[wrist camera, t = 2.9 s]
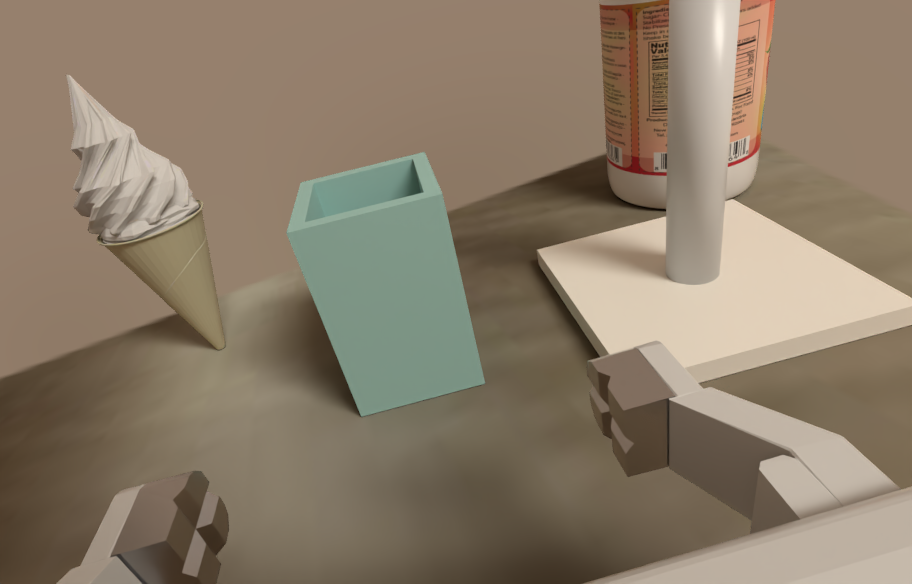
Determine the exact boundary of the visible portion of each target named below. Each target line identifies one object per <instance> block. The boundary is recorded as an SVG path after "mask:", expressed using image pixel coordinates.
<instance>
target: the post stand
mask: <svg viewBox="0 0 912 584" xmlns="http://www.w3.org/2000/svg"><path fill="white" fill-rule="evenodd" d="M740 1H741V0H669V51H668V122H667V194H666V217H662V218H658V219H654V220H650V221H647V222H643V223H639V224H635V225H631V226H627V227H623V228H619V229H616V230H612V231H608V232H604V233H600V234H596V235H592V236H589V237H585V238H581V239H577V240H573V241H569V242H565V243H561V244H558V245H554V246H550V247H546V248H542V249H538V250H537V256H538V263H539V266H540V267H541V269H542V270H543V272H544V273H545V275H546V276H547V278H548V279H549V281H550V282H551V284H552V285H553V287H554V288H555V290H556V291H557V293H558V294H559V296H560V297H561V299H562V300H563V302H564V303H565V305H566V306H567V308H568V309H569V311H570V312H571V314H572V315H573V317H574V318H575V320H576V321H577V323H578V324H579V326H580V327H581V329H582V330H583V332H584V333H585V335H586V336H587V338H588V339H589V341H590V342H591V344H592V345H593V347H594V348H595V350H596V351H597V353H598V354H599V356H600V357H603V356H606V355H610V354H613V353H617V352H620V351H624V350H627V349H630V348H634V347H636V346H639V345H643V344H646V343H649V342H653V341H656V340H657V341H659V342H661V343H662V344H663V345H664V346H665V347H666V348H667V349H668V350H669V352H670V353H671V354H672V355H673V356H674V357H675V358H676V359H677V360H678V361H679V363H680V364H681V365H682V366H683V367H684V368H685V369H686V370H687V371H688V373H689V374H690V375H691V376H692V377H693V378H694V379H695V380H696V381H697V383H700V382H704V381H708V380H711V379H715V378H719V377H722V376H726V375H730V374H733V373H737V372H741V371H744V370H748V369H752V368H755V367H759V366H763V365H766V364H770V363H774V362H777V361H781V360H785V359H788V358H792V357H796V356H799V355H803V354H807V353H810V352H814V351H818V350H821V349H825V348H829V347H832V346H836V345H840V344H843V343H847V342H851V341H854V340H858V339H862V338H865V337H869V336H873V335H876V334H880V333H884V332H887V331H891V330H895V329H898V328H902V327H906V326H909V325H912V298H911V297H909V296H907V295H905V294H903V293H902V292H900V291H898V290H896V289H894V288H893V287H891V286H889V285H887V284H885V283H883V282H882V281H880V280H878V279H876V278H874V277H873V276H871V275H869V274H867V273H865V272H864V271H862V270H860V269H858V268H856V267H855V266H853V265H851V264H849V263H847V262H845V261H844V260H842V259H840V258H838V257H836V256H835V255H833V254H831V253H829V252H827V251H826V250H824V249H822V248H820V247H818V246H817V245H815V244H813V243H811V242H809V241H808V240H806V239H804V238H802V237H800V236H798V235H797V234H795V233H793V232H791V231H789V230H788V229H786V228H784V227H782V226H780V225H779V224H777V223H775V222H773V221H771V220H770V219H768V218H766V217H764V216H762V215H760V214H759V213H757V212H755V211H753V210H751V209H750V208H748V207H746V206H744V205H742V204H741V203H739V202H737V201H735V200H733V199H732V200H728V201H725V196H726V183H727V170H728V157H729V144H730V131H731V118H732V105H733V92H734V79H735V66H736V53H737V40H738V27H739V14H740Z"/></svg>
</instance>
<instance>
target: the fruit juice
mask: <svg viewBox="0 0 912 584" xmlns="http://www.w3.org/2000/svg"><path fill="white" fill-rule="evenodd" d="M599 3H600V4H599V5H600V20H601V41H602V61H603V84H604V105H605V127H606V147H607V169H608V178H609V183H610V186H611V189H612V191H613V192H614V194H615V195H616V196H617V197H619V198H620V199H622V200H624V201H626V202H629V203H631V204H635V205H638V206H643V207H649V208H658V209H666V194H667V122H668V51H669V0H599ZM774 8H775V0H741V1H740V14H739V27H738V40H737V53H736V66H735V79H734V92H733V105H732V118H731V131H730V144H729V157H728V170H727V183H726V196H725V201H726V200H728V199H731V198H733V197H735V196H737V195H739V194H741V193H742V192H744V191H745V190H746V189H747V188H748V187H749V186H750V185H751V183H752V181H753V179H754V177H755V173H756V169H757V165H758V158H759V148H760V139H761V130H762V120H763V111H764V102H765V92H766V83H767V74H768V64H769V55H770V45H771V36H772V27H773V17H774Z"/></svg>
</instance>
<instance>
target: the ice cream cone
mask: <svg viewBox="0 0 912 584" xmlns="http://www.w3.org/2000/svg"><path fill="white" fill-rule="evenodd" d="M66 77H67V81H68V85H69V92H70V100H71V109H72V118H73V126H74V137H73V141H72V146H71V150H72V151H73V152H74V153H75V154H76V155H77V156H78V157H79V158H80V160H81V167H80V173H79V175H78V178H77V180H76V182H75V185H74V187H73V189H74V190H76V191H77V192H79V194H78V196H77V199H76V202H75V204H74V206H73V207H74V208H75V209H76V210H77V211H78V212H79V214H80V215H82V216H86V217H90V219H89V227H88V231H89V233H92V234H100V235H99V236H98V238H97V243H98V244H100V245H103V246H105V247H107V248H108V249H109V250H110V251H111V252H112V253H113V254H114V255H115V256H116V257H117V258H119V259H120V260H121V261H122V262H123V263H124V264H125V265H126V266H127V267H128V268H129V269H131V270H132V271H133V272H134V273H135V274H136V275H137V276H138V277H139V278H140V279H141V280H142V281H144V282H145V283H146V284H147V285H148V286H149V287H150V288H151V289H152V290H153V291H154V292H156V293H157V294H158V295H159V296H160V297H161V298H162V299H163V300H164V301H165V302H166V303H167V304H168V305H169V306H170V307H171V308H173V309H174V310H175V311H176V312H177V313H178V314H179V315H180V316H181V317H182V318H183V319H184V320H186V321H187V322H188V323H189V324H190V325H191V326H192V327H193V328H194V329H195V330H196V331H198V332H199V333H200V334H201V335H202V336H203V337H204V338H205V339H206V340H207V341H208V342H209V343H211V344H212V345H213V346H214V347H215V348H216V349H217V350H221V349H223V348H224V347H225V340H224V334H223V329H222V323H221V317H220V311H219V305H218V300H217V294H216V288H215V282H214V276H213V271H212V265H211V259H210V253H209V247H208V242H207V236H206V232H205V227H204V221H203V215H202V208H203V202H202V201H199V200H195V199H194V198H193V197H192V194H193V193H192V191H191V189H190V188H188V181H187V179H186V177H185V175H184V173H183V171H182V169H181V168H179V167H178V166H176V165H174V164H172V163H171V162H170V160H168V159H166V158H165V157H163V156H160V155H158V154H157V153H155V152H153V151H150V150H149V149H147V148H146V147H144V146H142V145H141V144H139V141H138V139H137V136H136V134H135V131H134V129H132V128H131V127H129V126H127V125H125V124H124V123H122V122H120V121H118V120H117V119H116V118H114V117H113V116H112V115H111V114H110V113H109V112H108V111H107V110H106V109H105V108H104V107H103V106H102V105H100V104H99V103H98V102H97V101H96V100H95V99H94V98H93V97H92V96H91V95H90V94H88V92H86V91H85V90H84V89H83V88H82V87H81V86H80V85H79V84H78V83H77V82H76V81H75V80H74V79H73V78H72V77H71V76H70V75H68V76H67V75H66Z"/></svg>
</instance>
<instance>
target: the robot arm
mask: <svg viewBox="0 0 912 584" xmlns="http://www.w3.org/2000/svg"><path fill="white" fill-rule="evenodd" d="M587 376H588V378H589V379H590V381H591V383H592V384H593V387H592V388H591V390H590V392H589V394H590V401H591V406H592V410H593V413H594V417H595V419H596V421H597V423H598V426H599V428H600V429H601V431H602V433H603V435H604V436H606V437H608V438H610V439H612V447H613V453H614V454H615V456H616V458H617V460H618V461H619V463H620V465H621V467H622V468H623V470H624V472H625V474H626V475H627V477H630V476H634V475H638V474H641V473H645V472H649V471H653V470H657V469H661V468H665V467H669V469H671V470H672V471H674V472H676V473H677V474H679V475H680V476H682V477H683V478H685V479H687V480H688V481H690V482H691V483H693V484H695V485H696V486H698V487H699V488H701V489H702V490H704V491H706V492H707V493H709V494H710V495H712V496H714V497H715V498H717V499H718V500H720V501H721V502H723V503H725V504H726V505H728V506H729V507H731V508H732V509H734V510H736V511H737V512H739V513H740V514H742V515H744V516H745V517H747V518H748V519H750V520H751V521H752V524H751V531H750V534H749V535H745V536H742V537H739V538H735V539H732V540H728V541H725V542H722V543H718V544H715V545H712V546H708V547H705V548H701V549H698V550H695V551H691V552H688V553H684V554H681V555H678V556H674V557H671V558H667V559H664V560H661V561H657V562H654V563H651V564H647V565H644V566H640V567H637V568H634V569H630V570H627V571H623V572H620V573H617V574H613V575H610V576H607V577H603V578H600V579H596V580H593V581H590V582H586V583H583V584H912V486H911V487H908V488H905V489H900V488H899V487H898V486H897V485H896V484H895V483H894V482H892V481H891V480H890V479H889V478H888V477H887V476H886V475H885V474H884V473H882V472H881V471H880V470H879V469H878V468H877V467H876V466H875V465H874V464H872V463H871V462H870V461H869V460H868V459H867V458H866V457H865V456H864V455H863V454H861V453H860V452H859V451H858V450H857V449H856V448H855V447H854V446H853V445H851V444H850V443H849V442H848V441H847V440H846V439H845V438H844V437H843V436H840V435H838V434H835V433H832V432H830V431H827V430H824V429H822V428H819V427H816V426H814V425H811V424H808V423H805V422H803V421H800V420H797V419H795V418H792V417H789V416H787V415H784V414H781V413H779V412H776V411H773V410H770V409H768V408H765V407H762V406H760V405H757V404H754V403H752V402H749V401H746V400H744V399H741V398H738V397H735V396H733V395H730V394H727V393H725V392H722V391H719V390H717V389H714V388H711V387H709V388H705V389H703V388H702V387H701V386H700V385H699V384H698V383H697V381H696V380H695V379H694V378H693V377H692V376H691V375H690V374H689V373H688V371H687V370H686V369H685V368H684V367H683V366H682V365H681V364H680V363H679V361H678V360H677V359H676V358H675V357H674V356H673V355H672V354H671V353H670V352H669V350H668V349H667V348H666V347H665V346H664V345H663V344H662V343H661V342H659V341H657V340H656V341H653V342H649V343H646V344H643V345H639V346H636V347H634V348H630V349H627V350H624V351H620V352H617V353H613V354H610V355H606V356H603V357H599V358H596V359H592V360H589V361H587ZM208 485H209V481H208V480H207V478H206V477H205V476H204V475H203V473H202V472H201V471H192V472H188V473H184V474H180V475H176V476H172V477H169V478H165V479H161V480H157V481H153V482H149V483H146V484H144V485H139V486H135V487H131V488H127V489H123V490H121V491H120V492H119V493H118V494H116V495H115V496H114V498H113V500H112V502H111V504H110V506H109V508H108V510H107V512H106V515H105V517H104V519H103V521H102V523H101V525H100V527H99V529H98V531H97V533H96V535H95V537H94V539H93V541H92V543H91V545H90V547H89V549H88V551H87V553H86V555H85V557H84V559H83V561H82V563H81V565H80V566H79V567H76V568H72V569H71V570H70V571H69V572H68V573H67V574H66V575H65V576H64V577H63V578H62V579H60V580H59V581H58V582H57V583H56V584H216V583H217V578H218V574H219V570H220V566H221V563H220V562H219V560H218V558H217V557H216V555H217V554H218V552H219V551H220V550H221V549H222V547H223V546H224V545H225V544H226V541H227V536H228V532H229V521H228V513H227V510H226V507H225V504H224V503H223V501H222V500H221V498H220V497H219V496H217V495H215V494H212V493H210V492H207V488H208Z"/></svg>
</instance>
